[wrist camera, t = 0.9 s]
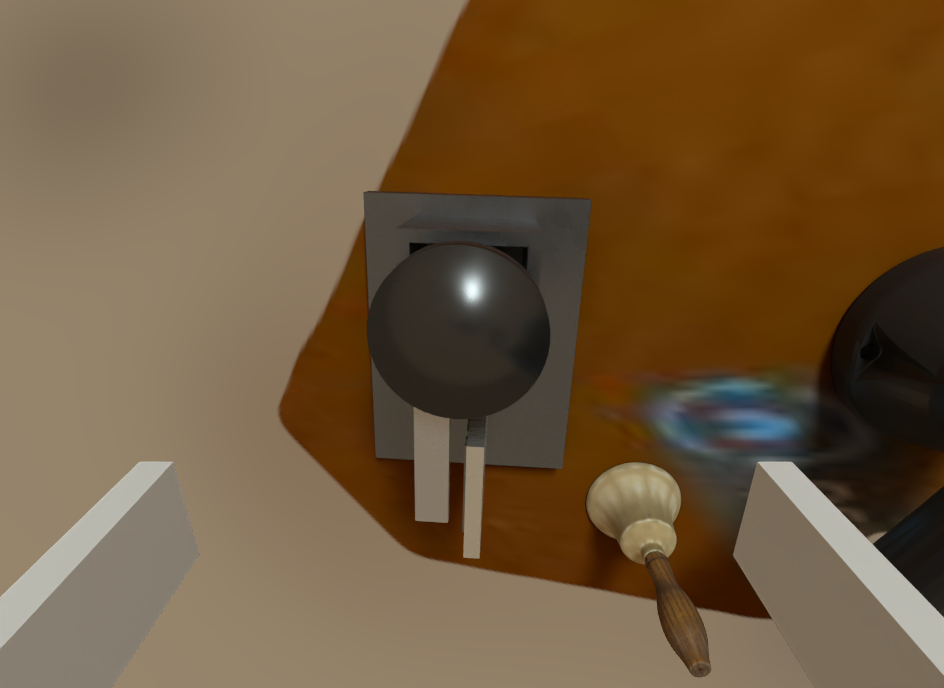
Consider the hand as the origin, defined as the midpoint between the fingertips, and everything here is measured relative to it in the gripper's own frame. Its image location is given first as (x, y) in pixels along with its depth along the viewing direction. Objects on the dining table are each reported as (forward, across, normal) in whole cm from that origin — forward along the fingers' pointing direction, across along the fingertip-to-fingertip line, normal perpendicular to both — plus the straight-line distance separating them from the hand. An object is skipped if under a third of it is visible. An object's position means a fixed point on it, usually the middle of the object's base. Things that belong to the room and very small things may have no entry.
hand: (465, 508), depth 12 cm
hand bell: (+27, -14, +22) cm, 38 cm away
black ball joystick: (+22, 0, +5) cm, 23 cm away
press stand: (+28, 0, +7) cm, 29 cm away
